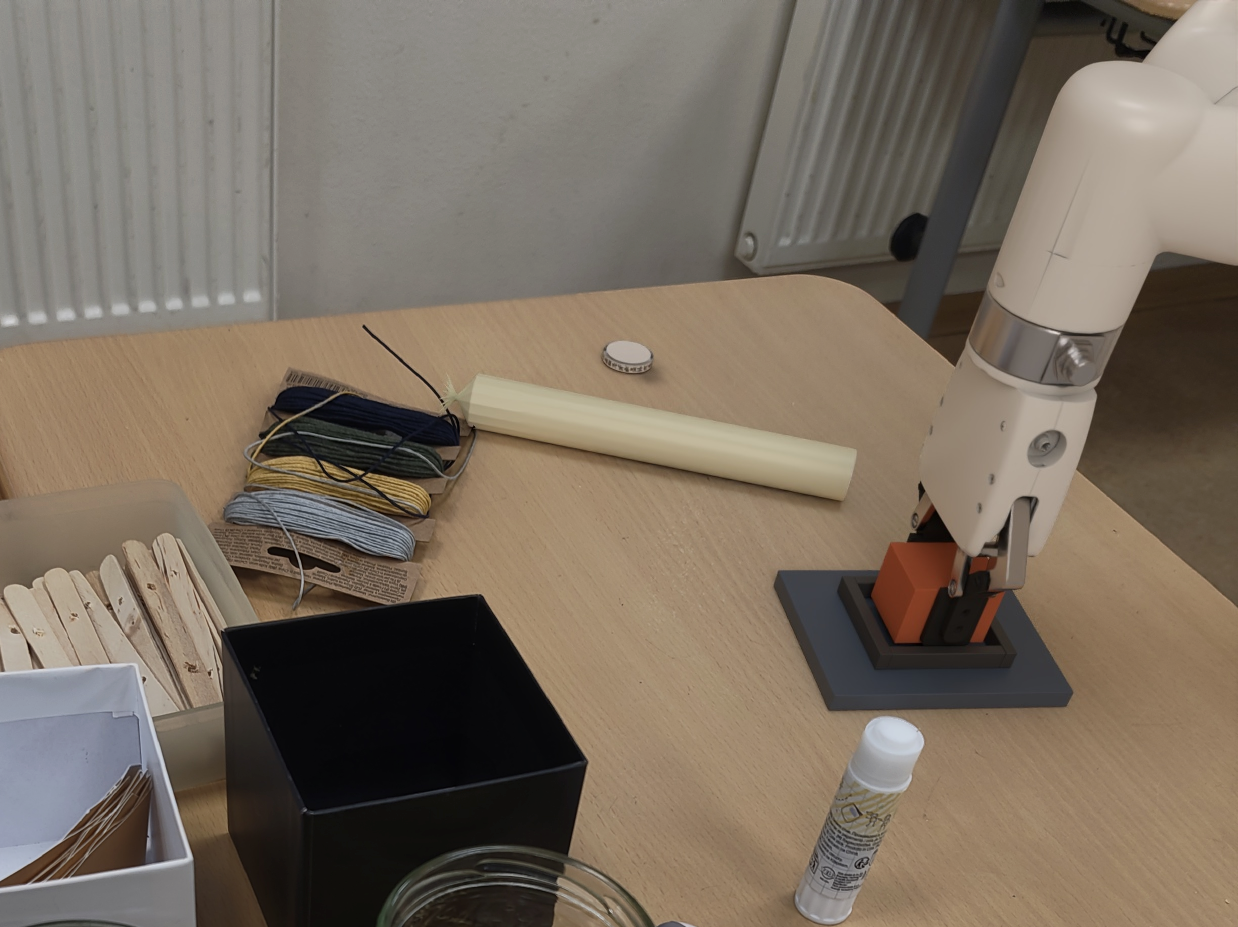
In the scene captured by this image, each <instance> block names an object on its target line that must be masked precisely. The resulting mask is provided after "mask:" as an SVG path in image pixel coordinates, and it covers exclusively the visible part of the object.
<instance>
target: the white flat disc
mask: <svg viewBox="0 0 1238 927" xmlns="http://www.w3.org/2000/svg"><path fill="white" fill-rule="evenodd" d="M601 359H602V361H603V363H604V364H605V365H607V366H608V367H609V368H611V369H613V370H615V371H619V372H622V373H627V374H638V373H644V372H646V371H648V370H650V369H651V367H652V366H653V362H654V352H653V351H652V350H651V348H649V347H648V346H646V345H644V344H642V343H639V342H636V341H633V340H626V339H625V340H624V339H619V340H613V341H610V342H607V343H606V344H605V345H604V346H603V349H602V355H601Z"/></svg>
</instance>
